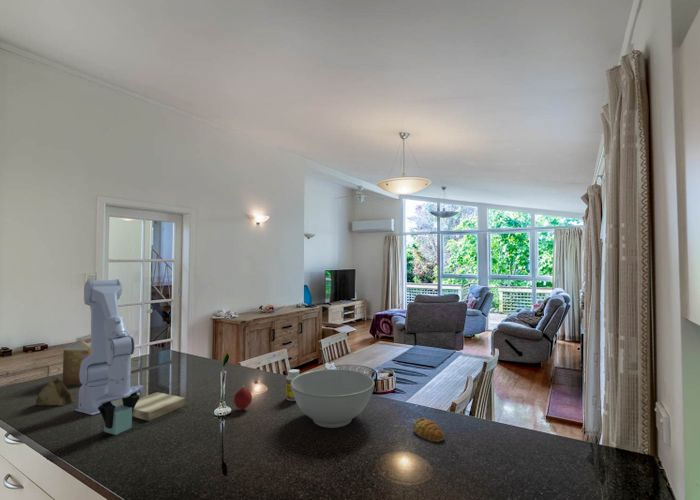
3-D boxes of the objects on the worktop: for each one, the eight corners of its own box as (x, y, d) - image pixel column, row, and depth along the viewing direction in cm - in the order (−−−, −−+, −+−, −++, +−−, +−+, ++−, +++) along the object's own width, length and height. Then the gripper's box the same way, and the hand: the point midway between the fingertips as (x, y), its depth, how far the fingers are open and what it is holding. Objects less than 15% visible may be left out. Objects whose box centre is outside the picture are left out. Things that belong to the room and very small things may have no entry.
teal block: (104, 431, 108) (104, 411, 109) (120, 424, 113) (121, 405, 113) (115, 434, 106) (115, 413, 107) (131, 427, 111) (132, 407, 111)
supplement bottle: (283, 400, 133) (283, 372, 133) (289, 395, 139) (289, 368, 139) (298, 402, 132) (298, 373, 132) (303, 396, 137) (303, 369, 138)
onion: (246, 414, 121) (246, 389, 121) (230, 412, 122) (230, 388, 123) (254, 407, 127) (254, 384, 127) (239, 406, 128) (239, 382, 128)
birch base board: (119, 413, 121) (120, 405, 122) (157, 399, 134) (157, 392, 134) (149, 420, 116) (149, 412, 116) (185, 405, 129) (185, 397, 129)
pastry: (450, 439, 105) (450, 426, 105) (433, 446, 101) (433, 432, 101) (426, 427, 113) (426, 414, 113) (410, 432, 109) (410, 419, 109)
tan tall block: (88, 385, 149) (89, 337, 150) (62, 384, 149) (63, 337, 150) (105, 377, 160) (106, 333, 161) (81, 376, 160) (82, 332, 161)
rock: (24, 400, 126) (37, 401, 122) (41, 376, 131) (55, 376, 127) (54, 411, 133) (68, 413, 128) (70, 387, 138) (84, 388, 134)
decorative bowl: (391, 418, 118) (391, 380, 119) (331, 449, 99) (331, 403, 99) (333, 397, 136) (333, 364, 137) (272, 420, 117) (273, 381, 117)
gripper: (103, 387, 102) (101, 436, 101) (150, 372, 115) (149, 416, 115) (87, 383, 105) (86, 431, 104) (135, 370, 118) (134, 413, 118)
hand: (118, 423), depth 110 cm, fingers closed on teal block, 5 cm apart
